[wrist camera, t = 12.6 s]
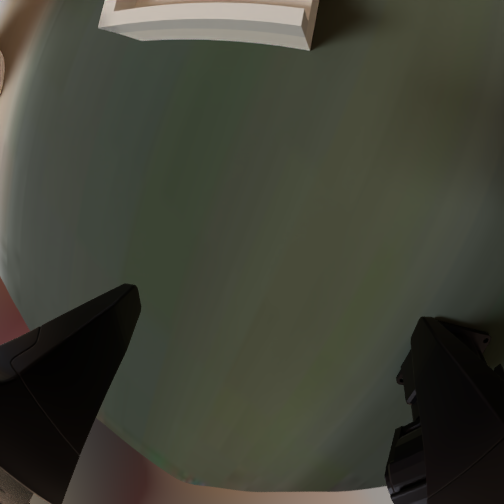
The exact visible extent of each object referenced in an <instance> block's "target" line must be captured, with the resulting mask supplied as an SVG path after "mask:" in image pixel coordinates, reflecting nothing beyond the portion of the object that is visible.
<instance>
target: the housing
mask: <svg viewBox="0 0 504 504" xmlns="http://www.w3.org/2000/svg"><path fill="white" fill-rule="evenodd" d="M318 4H319V0H105V2H104V6H103V10H102V14H101V18H100V22H99V26H98V28H100V29H103V30H107V31H111V32H114V33H118V34H121V35H125V36H128V37H131V38H134V39H138V40H141V41H149V40H181V39H190V40H223V41H238V42H250V43H260V44H269V45H276V46H284V47H290V48H297V49H303V50H309V51H310V48H311V42H312V37H313V32H314V26H315V21H316V15H317V10H318Z"/></svg>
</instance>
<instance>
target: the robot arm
mask: <svg viewBox="0 0 504 504" xmlns="http://www.w3.org/2000/svg"><path fill="white" fill-rule="evenodd" d="M140 312H141V303H140V298H139V292H138V288H137V286H136V285H132V284H123V285H121V286H119V287H117V288H114V289H112V290H110V291H108V292H106V293H104V294H102V295H100V296H98V297H96V298H94V299H92V300H90V301H88V302H86V303H84V304H82V305H81V306H79V307H77V308H75V309H73V310H71V311H69V312H67V313H65V314H63V315H61V316H59V317H57V318H55V319H53V320H51V321H49V322H47V323H45V324H43V325H42V326H41V327H38V328H36V329H34V330H32V331H30V332H28V333H26V334H24V335H22V336H20V337H18V338H16V339H13V340H11V341H9V342H7V343H4V344H2V345H0V504H30V503H29V502H30V500H31V498H32V496H33V494H35V495H36V496H38V497H40V498H41V499H43V500H45V501H46V502H48V503H50V504H62V502H63V499H64V496H65V494H66V491H67V488H68V485H69V483H70V480H71V478H72V475H73V472H74V470H75V467H76V464H77V462H78V459H79V457H80V456H79V455H80V454H81V452H82V449H83V447H84V444H85V442H86V439H87V437H88V435H89V432H90V430H91V428H92V425H93V423H94V421H95V418H96V416H97V414H98V411H99V409H100V407H101V405H102V402H103V400H104V398H105V396H106V393H107V391H108V389H109V387H110V385H111V383H112V380H113V378H114V376H115V374H116V372H117V370H118V368H119V365H120V363H121V361H122V359H123V357H124V355H125V353H126V351H127V348H128V345H129V343H130V340H131V337H132V334H133V331H134V329H135V326H136V323H137V320H138V318H139V315H140ZM484 339H485V340H484ZM490 340H491V337H490V335H489V334H488V333H486V332H482V331H477V330H473V329H469V328H465V327H461V326H457V325H453V324H449V323H445V322H441V321H437V320H435V319H434V318H433V317H421V318H420V319H419V321H418V323H417V325H416V327H415V330H414V332H413V334H412V337H411V350H410V352H409V354H408V355H407V357H406V359H405V360H404V362H403V364H402V365H401V370H400V372H399V373H398V375H397V377H396V380H397V383H398V384H400V385H404V391H405V398H406V402H407V404H409V405H411V408H412V416H413V422H411V423H409V424H408V425H406V426H404V427H403V426H401V427H399V428H397V429H395V433H394V438H393V442H392V446H391V450H390V454H389V458H388V462H387V466H386V472H385V480H386V484H387V488H388V490H389V493H390V495H391V499H392V501H393V503H394V504H504V369H503V367H502V365H501V364H499V365H498V366H497V367H495V368H494V369H495V370H494V371H493V370H492V369H491V368H490V367H489V366H488V365H487V363H486V361H485V359H484V357H483V352H484V350H485V349H486V347H487V346H488V344H489V342H490ZM402 378H403V379H402Z"/></svg>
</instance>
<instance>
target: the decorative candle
mask: <svg viewBox="0 0 504 504" xmlns="http://www.w3.org/2000/svg"><path fill="white" fill-rule="evenodd" d="M4 73H5V63H4V57H3V54H2V52H1V51H0V94H1V90H2V87H3V82H4Z"/></svg>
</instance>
